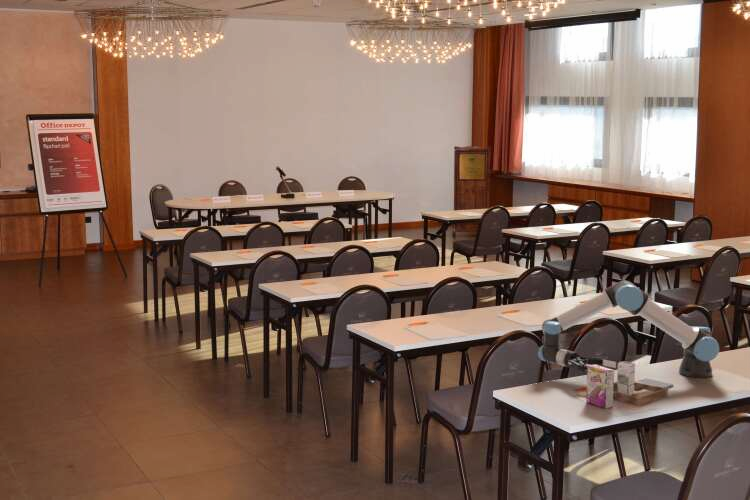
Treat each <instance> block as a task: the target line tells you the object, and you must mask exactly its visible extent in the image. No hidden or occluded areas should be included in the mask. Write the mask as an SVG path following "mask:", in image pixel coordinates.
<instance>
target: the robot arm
mask: <svg viewBox="0 0 750 500" xmlns="http://www.w3.org/2000/svg"><path fill="white" fill-rule="evenodd" d="M618 306H619V308H620V309H622V310H625V311H627V312H629V314H632V315H633V316H640V317H642V318H643V319H645V320H646V321H648V322H650V323H651V324H652V325H653V326H655V327H657V328H659V330H661V331H663V332H664V333H665V334H667V335H668V336H670V337H672V338H673V339H675V340H676V341H678V342H680V343H681V346H682V348H683V357H682V360H681V361H680V365H679V368H678V372H679V374H680V375H683V376H686V377H691V378H707V377H706V376H710V375H712V376H713V369H712V368H713V367H712V365H711V361H713V360H715V359H716V358H717V356H718V355H719V352H720V345H719V343H718V340H716V338H715V337H713V336H712V335H711V328H710V327H706V326H690V325H688V324H687V323H685V322H684V321H682V320H681V319H680V318H678V317H677V316H675V315H674V314H672V313H670V312H669V311H668V310H666V309H665V308H663V307H661V306H660V305H658V304H657V303H656V302H654V301H653V300H651V298H650V295H649V294H648V293H646V292H645V291H643V290H642V289H640V288H639V287H637V286H636V285H635V284H634V283H633V282H631V281H629V280H621V281H619V282H617V283H614V284H613V285H611V286H608V287H606V288H605V289H604V290H602V293H600V294H598V295H596V296H594V297H592V298H590V299H588V300H586V301H584V302H583V303H580V304H579V305H576V306H574V307H573V308H571V309H569V310H567V311H565V312H562V313H561V314H559V315H557V316H555V317H553V318H551V319H550V318H548V319H545V320H544V321H543V322H542V323H541V331H542V333H543V344H542V345H541V346H540V347H539V348H538V351H537V357H538V358H539V359H540V361H544V362H546V363H551V364H555V365H560V366H561V367H566V368H571V369H574V370H577V371H581V372H582V373H584V372H585V371H587V368H588V366H589V365H594V364H595V365H599V366H602V367H607V368H611V369H613V368H614V369H617V361H613V360H607V359H606V357H605V356H604V357H597V356H589V355H584V356H580V355H579V353H578V352H576V351H573V350H569V349H568V350H567V349H563V348H560V347H561V346H560V345H561V344H560V343H561V333H562V332H563V331H566V330H567V329H569V328H571V327H573V326H575V325H577V324H579V323H581V322H584V321H585V320H587V319H589V318H591V317H593V316H595V315H597V314H599V313H601V312H602V311H605V310H606V309H609V308H612V309H613V308H616V307H618ZM710 377H711V376H710Z"/></svg>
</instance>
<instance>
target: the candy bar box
mask: <svg viewBox="0 0 750 500" xmlns="http://www.w3.org/2000/svg"><path fill="white" fill-rule="evenodd" d="M586 373H587V374H586V375H587V376H586V401H585V402H586V403H587V404H589V405H593V406H596V407H598V408H602V409H604V410H605V409H612V408H613V407H614V400H613V387H614V381H615V370H614V369H613V368H610V367H606V366H603V365H600V364H589V366H588V368H587V370H586Z"/></svg>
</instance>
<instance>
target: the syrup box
mask: <svg viewBox="0 0 750 500" xmlns="http://www.w3.org/2000/svg"><path fill="white" fill-rule="evenodd" d="M635 376H636V363H635V362H630V361H625V360H623V361H622V360H621V361H619V362H618V363H617V377H616V378H617V380H616V382H617V390H616V392H619V393H623V394H627V395H631V394H632V393H635V389H634V381H635V378H636V377H635Z"/></svg>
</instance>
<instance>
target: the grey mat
mask: <svg viewBox="0 0 750 500" xmlns="http://www.w3.org/2000/svg"><path fill="white" fill-rule="evenodd" d="M637 382H641V383H645V384H650V385H654V386H658V387H663V388H667V389H670V388H673V387H674V384H673V383H670V382H664V381H660V380H657V379H652V378H648V377H647V378H643V379H639V380H637Z"/></svg>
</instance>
